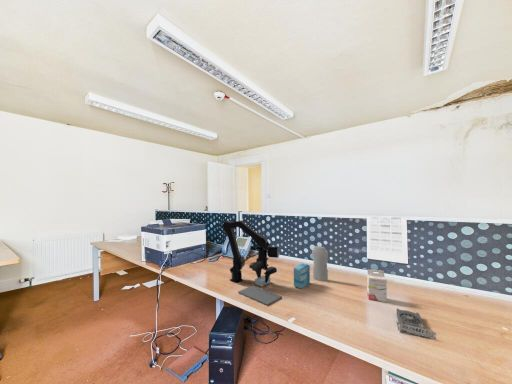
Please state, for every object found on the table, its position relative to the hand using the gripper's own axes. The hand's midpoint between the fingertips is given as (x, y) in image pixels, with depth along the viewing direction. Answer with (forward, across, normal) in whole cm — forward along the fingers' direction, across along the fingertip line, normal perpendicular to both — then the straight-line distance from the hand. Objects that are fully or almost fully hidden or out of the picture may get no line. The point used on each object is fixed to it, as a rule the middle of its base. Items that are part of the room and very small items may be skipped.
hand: (262, 281), depth 139 cm
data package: (+2, +20, +14) cm, 24 cm away
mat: (+1, +10, -14) cm, 17 cm away
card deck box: (+1, 0, 0) cm, 1 cm away
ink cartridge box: (+1, +59, +25) cm, 64 cm away
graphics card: (+2, +77, +9) cm, 78 cm away
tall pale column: (+1, +24, +30) cm, 38 cm away
